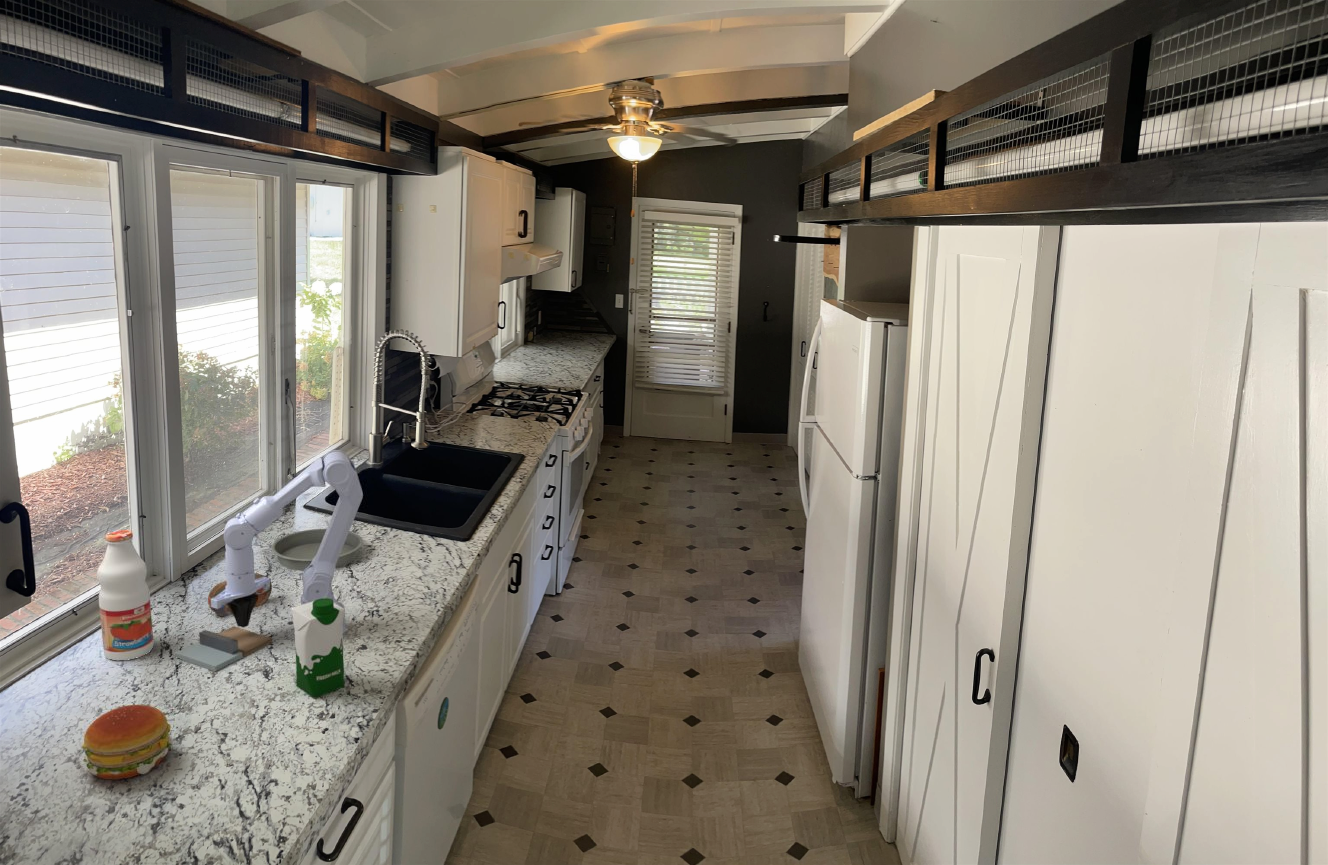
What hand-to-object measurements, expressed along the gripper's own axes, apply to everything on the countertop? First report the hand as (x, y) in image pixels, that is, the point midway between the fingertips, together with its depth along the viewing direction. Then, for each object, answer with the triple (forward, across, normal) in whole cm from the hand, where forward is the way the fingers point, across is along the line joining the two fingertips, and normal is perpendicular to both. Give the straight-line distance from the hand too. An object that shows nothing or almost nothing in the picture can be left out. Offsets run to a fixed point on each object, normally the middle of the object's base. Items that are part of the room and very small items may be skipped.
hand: (242, 625), depth 195 cm
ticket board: (+4, +1, 0) cm, 4 cm away
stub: (+4, +9, 0) cm, 10 cm away
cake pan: (+4, -47, -23) cm, 52 cm away
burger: (+4, +41, +19) cm, 46 cm away
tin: (+4, -12, -14) cm, 19 cm away
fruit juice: (+4, +15, -17) cm, 23 cm away
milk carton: (+4, +6, +29) cm, 30 cm away
